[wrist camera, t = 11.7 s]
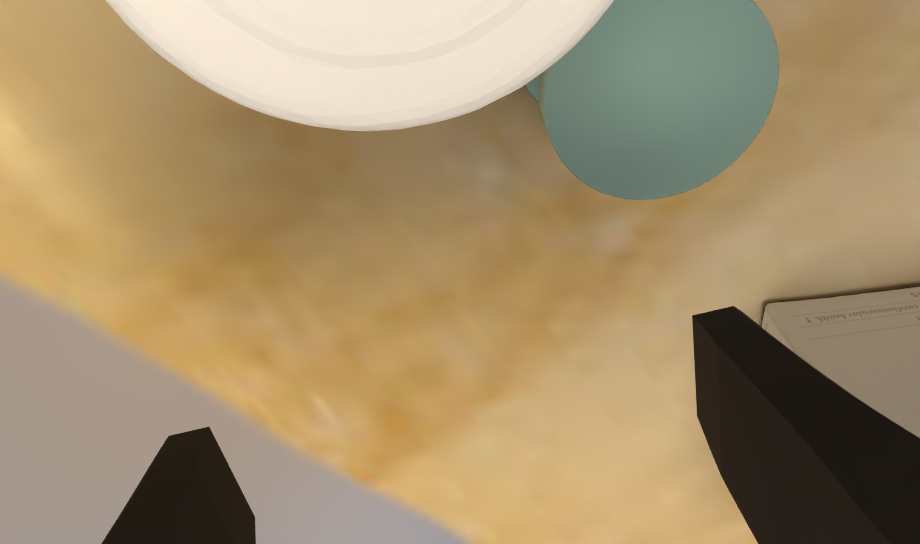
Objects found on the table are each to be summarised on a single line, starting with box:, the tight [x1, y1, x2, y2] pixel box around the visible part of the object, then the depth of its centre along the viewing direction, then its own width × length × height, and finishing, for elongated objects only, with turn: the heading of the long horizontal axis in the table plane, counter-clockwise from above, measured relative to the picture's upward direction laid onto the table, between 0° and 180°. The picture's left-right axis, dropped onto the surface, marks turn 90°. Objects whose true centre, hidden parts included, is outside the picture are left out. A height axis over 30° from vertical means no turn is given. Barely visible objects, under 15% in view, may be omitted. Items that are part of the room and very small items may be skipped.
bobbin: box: [525, 0, 779, 200], centre depth 19 cm, size 5×5×4 cm
